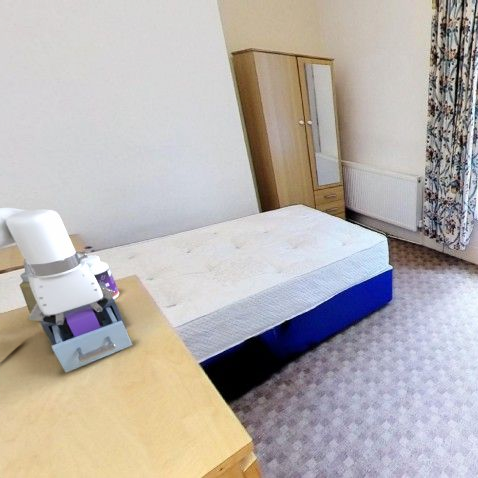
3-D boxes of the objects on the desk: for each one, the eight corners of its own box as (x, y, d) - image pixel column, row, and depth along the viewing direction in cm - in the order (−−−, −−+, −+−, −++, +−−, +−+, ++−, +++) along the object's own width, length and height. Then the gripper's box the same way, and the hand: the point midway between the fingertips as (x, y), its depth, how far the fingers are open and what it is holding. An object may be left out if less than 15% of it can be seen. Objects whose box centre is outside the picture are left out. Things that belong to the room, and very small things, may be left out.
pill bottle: (84, 310, 96) (63, 268, 90) (87, 298, 101) (68, 258, 96) (120, 301, 101) (103, 260, 95) (120, 289, 106) (104, 251, 100)
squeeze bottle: (46, 309, 96) (17, 256, 88) (81, 304, 98) (56, 252, 91) (26, 326, 89) (-6, 270, 81) (65, 320, 91) (36, 265, 84)
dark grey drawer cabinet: (126, 328, 89) (114, 301, 86) (58, 355, 80) (41, 325, 76) (114, 307, 98) (103, 281, 94) (51, 328, 88) (36, 300, 85)
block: (101, 328, 80) (94, 313, 78) (75, 338, 76) (67, 322, 75) (97, 321, 82) (90, 306, 80) (72, 329, 79) (64, 314, 77)
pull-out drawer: (138, 355, 79) (127, 331, 76) (69, 385, 71) (54, 360, 68) (119, 322, 90) (110, 300, 87) (58, 344, 82) (45, 321, 79)
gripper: (102, 247, 80) (127, 307, 88) (-5, 272, 68) (33, 339, 75) (109, 257, 76) (134, 319, 83) (-5, 284, 64) (36, 354, 71)
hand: (86, 328), depth 79 cm, fingers closed on block, 4 cm apart
